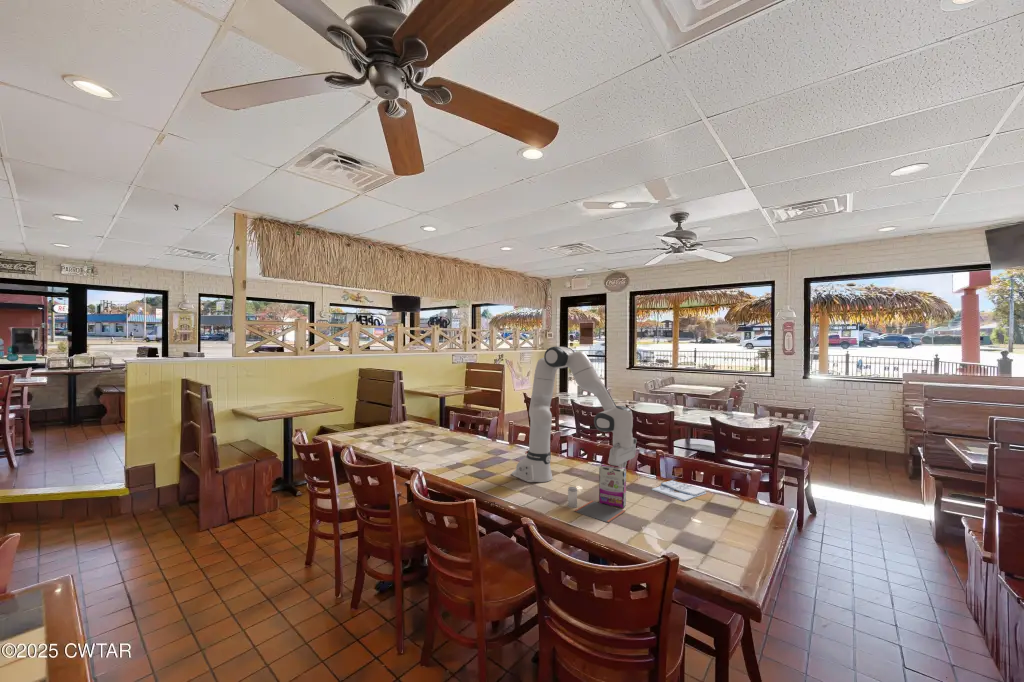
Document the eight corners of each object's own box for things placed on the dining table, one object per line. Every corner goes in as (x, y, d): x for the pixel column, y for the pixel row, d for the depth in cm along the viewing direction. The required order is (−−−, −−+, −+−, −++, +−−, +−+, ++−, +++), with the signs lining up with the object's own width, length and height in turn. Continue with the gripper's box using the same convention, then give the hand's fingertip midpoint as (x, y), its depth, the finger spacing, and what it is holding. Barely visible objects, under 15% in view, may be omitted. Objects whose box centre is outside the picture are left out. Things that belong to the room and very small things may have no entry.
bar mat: (574, 511, 173) (574, 510, 173) (592, 501, 184) (592, 500, 184) (608, 523, 162) (608, 521, 162) (625, 511, 173) (625, 510, 173)
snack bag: (707, 494, 196) (707, 490, 196) (683, 503, 185) (683, 498, 185) (672, 482, 212) (672, 478, 212) (648, 490, 201) (648, 486, 201)
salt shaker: (565, 505, 178) (566, 488, 178) (570, 503, 181) (571, 485, 181) (573, 508, 176) (573, 490, 176) (578, 505, 179) (578, 488, 179)
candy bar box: (626, 504, 181) (626, 468, 181) (623, 508, 176) (624, 471, 176) (601, 499, 186) (602, 464, 186) (598, 503, 182) (599, 466, 182)
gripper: (618, 446, 179) (618, 478, 178) (638, 438, 194) (637, 467, 194) (605, 444, 183) (605, 474, 183) (625, 436, 198) (625, 464, 198)
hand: (622, 471), depth 188 cm, fingers closed
